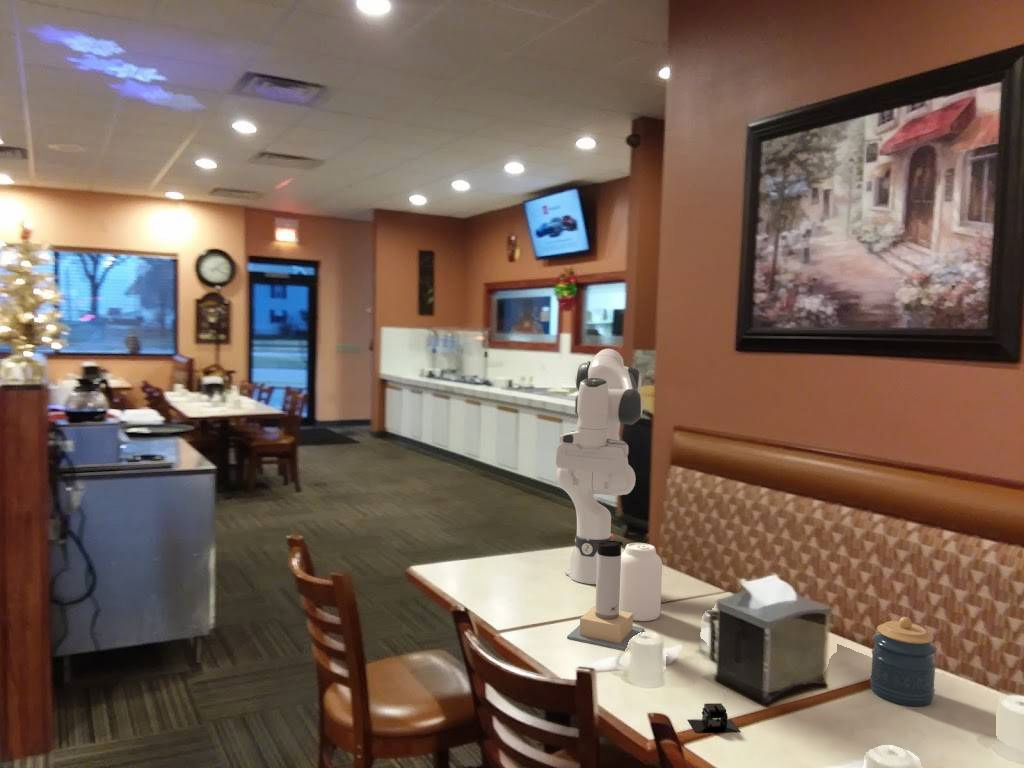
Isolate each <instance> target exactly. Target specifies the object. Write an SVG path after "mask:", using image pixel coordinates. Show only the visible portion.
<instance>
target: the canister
mask: <svg viewBox="0 0 1024 768" xmlns="http://www.w3.org/2000/svg"><path fill="white" fill-rule="evenodd" d="M876 629H877V631H878V632H876V633H875V634H873V635H872V641H873V643H874V647H873V649H872V650H871V654H872V656H871V657H872V659H871V673H870V674H871V675H870V677H869V679H870V680H869V682H870V688H871V691H872V692H873V693H874V694H875V695H877V696H879V697H880V698H882V699H884V700H886V701H888V702H891V703H896V704H899V705H903V706H909V707H910V706H911V707H922V706H928V705H930V704H932V702H933V700H934V697H935V678H936V677H935V676H936V675H935V674H936V667H937V662H936V660H935V654H936V653H937V651H938V648H937V645H935V644H934V643H933V640H934V636H933V635H932V633H930V632H929V631H927V630H926V628H924V627H922V626H920V625H918V624H915V623H913V622H912V620H911V619H910V618H909V617H907V616H902V617H900V618H899V620H889V621H885V622H884V623H881V624H879V625H878V626H877V627H876Z"/></svg>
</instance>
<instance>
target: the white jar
mask: <svg viewBox="0 0 1024 768" xmlns="http://www.w3.org/2000/svg"><path fill="white" fill-rule="evenodd" d="M662 576H663V561H662V558H661V557H660V556H659V554H658V553H657V550H656V547H655V546H654V545H652V544H649V543H645V542H631V543H627V544H626V545H625V548H624V550H623V551H622V552H621V573H620V599H619V611H624V612H630V613H633V622H634V621H636V622H650V621H654V620H657V619H658V618H659V617H660V615H661V602H662V601H661V600H662V582H663V581H662V580H663V579H662Z"/></svg>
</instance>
